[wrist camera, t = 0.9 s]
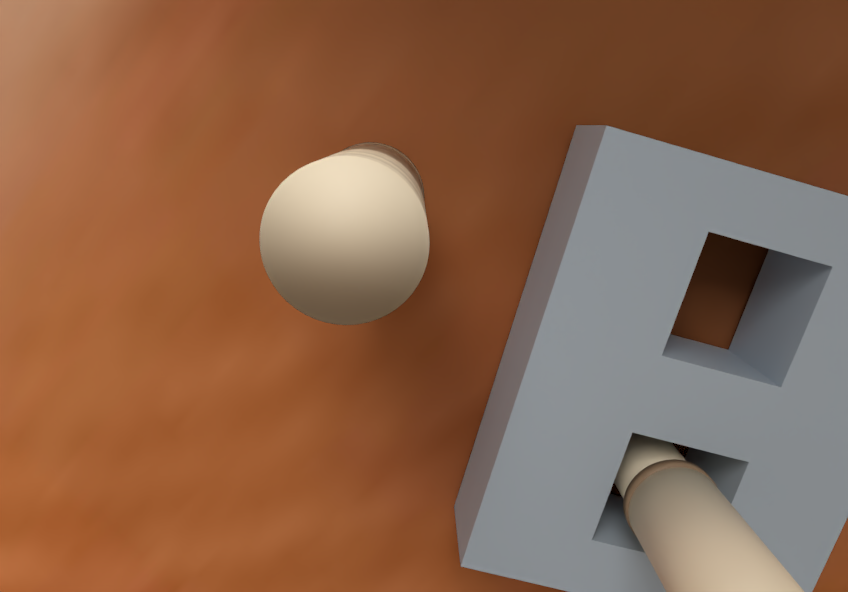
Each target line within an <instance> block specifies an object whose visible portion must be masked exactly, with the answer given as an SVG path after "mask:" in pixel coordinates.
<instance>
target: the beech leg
mask: <svg viewBox="0 0 848 592" xmlns="http://www.w3.org/2000/svg"><path fill="white" fill-rule="evenodd" d="M429 246H430V242H429V230H428V223H427V216H426V210H425V203H424V188H423V183H422V180H421V177H420V174H419V172H418V170H417V169H416V167H415V165H414V164H413V163H412V162H411V160H410V159H409V158H408V157H407V156H406V155H404V154H403V153H402V152H400V151H399V150H397V149H395V148H393V147H391V146H389V145H386V144H381V143H374V142H367V143H360V144H356V145H353V146H350V147H348V148H346V149H344V150H342V151H341V152H338V153H336V154H333V155H330V156H328V157H325V158H323V159H320V160H317V161H315V162H312V163H310V164H308V165H306V166H304V167H302V168H300V169H298V170H297V171H295V172H294V173H292V174H291V175H290V176H289V177H287V178H286V179H285V180H284V181H283V182H282V183H281V184H280V185H279V187H278V188H277V189H276V190H275V192H274V193H273V195H272V196H271V198H270V200H269V201H268V204H267V206H266V208H265V210H264V214H263V217H262V221H261V227H260V251H261V257H262V261H263V265H264V267H265V270H266V272H267V275H268V277H269V278H270V280H271V282H272V284H273V285H274V287H275V288H276V289H277V291H278V292H279V294H280V295H281V296H282V297H283V298H284V299H285V300H286V301H287V302H288V303H290V304H291V305H292V306H293V307H294V308H296V309H297V310H299V311H300V312H302V313H304V314H305V315H307V316H310V317H312V318H314V319H317V320H320V321H323V322H326V323H332V324H339V325H354V324H362V323H367V322H370V321H373V320H377V319H379V318H381V317H383V316H385V315H388V314H389V313H391V312H392V311H394V310H395V309H397V308H398V307H399V306H400V305H402V304H403V303H404V302H405V301H406V300H407V299H408V298H409V297H410V295H411V294H412V293H413V292H414V290H415V289H416V287H417V286H418V284H419V282H420V280H421V278H422V276H423V274H424V271H425V268H426V266H427V261H428V256H429Z"/></svg>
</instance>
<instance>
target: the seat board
mask: <svg viewBox="0 0 848 592" xmlns="http://www.w3.org/2000/svg"><path fill="white" fill-rule="evenodd" d="M708 232H711V233H715V234H719V235H722V236H726V237H729V238H733V239H736V240H740V241H743V242H747V243H750V244H754V245H757V246H761V247H764V248H768V249H769V250H768V253H767V255H766V258H765V260H764V263H763V265H762V268H761V270H760V273H759V275H758V277H757V280H756V282H755V285H754V287H753V290H752V292H751V295H750V297H749V300H748V302H747V305H746V307H745V310H744V312H743V315H742V317H741V320H740V322H739V325H738V327H737V330H736V332H735V335H734V337H733V340H732V342H731V345H730V347H729V350H727V349H724V348H720V347H716V346H712V345H709V344H705V343H701V342H698V341H694V340H690V339H686V338H683V337H679V336H675V335H672V334H670V333H671V330H672V327H673V325H674V322H675V319H676V317H677V314H678V311H679V309H680V306H681V304H682V301H683V298H684V296H685V293H686V290H687V288H688V285H689V282H690V280H691V277H692V274H693V272H694V269H695V267H696V264H697V261H698V259H699V256H700V253H701V251H702V248H703V245H704V243H705V240H706V238H707V235H708ZM671 442H672V443H675V444H679V445H683V446H687V447H689V449H688V451H687V454H686V456H685V459H684V457H683V456H682V455H681V454H680V452H679V451H678V450H677V449H676V448H675V446H674V445H673V444H672V443H671ZM613 483H615V485H616V487H617V488H618V490H619V492H620V494H621V496H622V497H621V496H617V495H613V494H609V493H610V491H611V488H612V486H613ZM454 510H455V519H456V529H457V538H458V547H459V556H460V565H461V567H465V568H470V569H474V570H478V571H482V572H487V573H491V574H495V575H499V576H504V577H508V578H512V579H517V580H521V581H525V582H529V583H534V584H538V585H542V586H547V587H551V588H555V589H559V590H564V591H568V592H812V591H813V589H814V587H815V585H816V583H817V581H818V578H819V576H820V574H821V572H822V570H823V568H824V566H825V564H826V562H827V560H828V557H829V555H830V553H831V551H832V549H833V547H834V545H835V543H836V541H837V538H838V536H839V534H840V532H841V530H842V528H843V526H844V524H845V522H846V519H847V517H848V196H846V195H843V194H839V193H836V192H832V191H829V190H826V189H822V188H819V187H815V186H812V185H809V184H805V183H802V182H798V181H795V180H791V179H788V178H785V177H781V176H778V175H774V174H771V173H768V172H764V171H761V170H757V169H754V168H750V167H747V166H744V165H740V164H737V163H733V162H730V161H727V160H723V159H720V158H716V157H713V156H709V155H706V154H703V153H699V152H696V151H692V150H689V149H686V148H682V147H679V146H675V145H672V144H668V143H665V142H662V141H658V140H655V139H651V138H648V137H645V136H641V135H638V134H634V133H631V132H627V131H624V130H621V129H617V128H614V127H610V126H607V125H576V128H575V131H574V134H573V137H572V140H571V144H570V147H569V150H568V153H567V156H566V159H565V162H564V165H563V169H562V172H561V175H560V178H559V181H558V184H557V187H556V190H555V193H554V197H553V200H552V203H551V206H550V209H549V212H548V215H547V218H546V222H545V225H544V228H543V231H542V234H541V237H540V240H539V243H538V246H537V250H536V253H535V256H534V259H533V262H532V265H531V268H530V271H529V275H528V278H527V281H526V284H525V287H524V290H523V293H522V296H521V299H520V303H519V306H518V309H517V312H516V315H515V318H514V321H513V324H512V328H511V331H510V334H509V337H508V340H507V343H506V346H505V349H504V352H503V356H502V359H501V362H500V365H499V368H498V371H497V374H496V377H495V380H494V384H493V387H492V390H491V393H490V396H489V399H488V402H487V405H486V409H485V412H484V415H483V418H482V421H481V424H480V427H479V430H478V433H477V437H476V440H475V443H474V446H473V449H472V452H471V455H470V458H469V462H468V465H467V468H466V471H465V474H464V477H463V480H462V483H461V486H460V490H459V493H458V496H457V499H456V502H455V505H454Z"/></svg>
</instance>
